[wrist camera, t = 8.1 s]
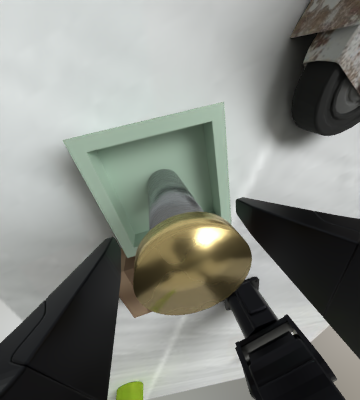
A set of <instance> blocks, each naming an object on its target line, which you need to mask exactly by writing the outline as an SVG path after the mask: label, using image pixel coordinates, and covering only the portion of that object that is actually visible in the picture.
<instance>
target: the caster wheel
mask: <svg viewBox="0 0 360 400" xmlns="http://www.w3.org/2000/svg"><path fill="white" fill-rule="evenodd" d="M313 33H318V34H317V35H316V37H315V38H314V40H313V42H312V44H311V45H310V47H309V49H308V52H307V54H306V57H305V60H304V62H303V65H304V67H305V69H304V71H303V73H302V75H301V77H300V79H299V82H298V85H297V87H296V90H295V94H294V98H293V106H292V114H293V119H294V121H295V123H296V125H297V126H299V127H300V128H302V129H305V130H308V131H311V132H314V133H317V134H320V135H324V136H331V135H336V134H339V133H341V132H343V131H345V130H347V129H349V128H351V127H353V126H354V125H356V124H357V123H359V122H360V0H311V2H310V3H309V5H308V7H307V8H306V10H305V12H304V13H303V15H302V17H301V18H300V20H299V22H298V23H297V25H296V27H295V29H294V30H293V32H292V35H291V38H294V37H299V36H304V35H308V34H313Z"/></svg>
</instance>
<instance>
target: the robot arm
mask: <svg viewBox="0 0 360 400" xmlns="http://www.w3.org/2000/svg"><path fill="white" fill-rule="evenodd" d="M236 213H237V215H238V216H239V218H240V219H241V221H242V222H243V224H244V225H245V226H246V228H247V229H248V231H249V232H250V234H251V235H252V236H253V237H254V238H255V240H256V241H257V242H258V243H259V244H260V245H261V246H262V248H263V249H264V250H265V251H266V252H267V253H268V254H269V256H270V257H271V258H272V259H273V260H274V261H275V262H276V264H277V265H278V266H279V267H280V268H281V269H282V270H283V272H284V273H285V274H286V275H287V276H288V277H289V278H290V280H291V281H292V282H293V283H294V284H295V285H296V286H297V288H298V289H299V290H300V291H301V292H302V293H303V295H304V296H305V297H306V298H307V299H308V300H309V301H310V303H311V304H312V305H313V306H314V307H315V308H316V309H317V311H318V312H319V313H320V314H321V315H322V316H323V318H324V319H325V320H326V321H327V322H328V323H329V324H330V326H331V327H332V328H333V329H334V330H335V331H336V333H337V334H338V335H339V336H340V337H341V338H342V339H343V341H344V342H345V343H346V344H347V345H348V346H349V347H350V349H351V350H352V351H353V352H354V353H355V354H356V355H357V356H358V358H359V359H360V219H357V218H350V217H344V216H338V215H333V214H327V213H322V212H317V211H311V210H306V209H301V208H296V207H291V206H285V205H280V204H275V203H270V202H265V201H260V200H254V199H249V198H244V197H242V198H239V199H237V200H236ZM120 283H121V249H120V247H119V245H118V243H117V241H116V239H115V238H114V237H111V238H108V239H105V240H104V241H103V242H102V243H101V244H100V245H99V246H98V247H97V248H96V249H95V250H94V251H93V252H92V253H91V254H90V255H89V256H88V257H87V258H86V259H85V260H84V261H83V262H82V263H81V264H80V265H79V266H78V267H77V268H76V269H75V270H74V271H73V272H72V273H71V274H70V275H69V276H68V277H67V278H66V279H65V280H64V281H63V282H62V283H61V284H60V285H59V286H58V287H57V288H56V289H55V290H54V291H53V292H52V293H51V294H50V295H49V296H48V297H47V298H46V301H43V302H42V303H41V304H40V305H39V306H38V307H37V308H36V309H35V310H34V311H33V312H32V313H31V314H30V315H29V316H28V317H27V318H26V319H25V320H24V321H23V322H22V323H21V324H20V325H19V326H18V327H17V328H16V329H15V330H14V331H13V332H12V333H11V334H10V335H8V336H7V337H6V338H5V339H4V340H3V341H2V342H1V343H0V400H107V396H108V388H109V379H110V370H111V361H112V353H113V344H114V335H115V326H116V318H117V309H118V300H119V292H120ZM258 289H259V279H258V278H257V277H254V278H252V279H249V280H246V281H243V283H242V284H241V285H240V286H239V287H238V289H237V290H236V291H234V292H233V293H232V294H231V295H230V296H229V297H227V298H226V299H224V300H225V307H226V310H230V309H231V310H232V312H233V314H234V316H235V318H236V320H237V322H238V324H239V326H240V328H241V330H242V333H243V335H244V337H245V339H243V340H242V341H240V342H239V341H238V342H236V346H237V347H236V348H235V349H236V351H237V354H238V356H239V359H240V361H241V364H242V367H243V371H244V374H245V378H246V381H247V385H248V388H249V391H250V394H251V396H252V397H253V398H254V399H255V400H345V398H344V397H343V396H342V394H341V393H340V392H339V390H338V389H337V388H336V386H335V385H334V383H333V382H334V381H336V380H337V378H336V376H335V375H334V374H333V372H332V370H331V369H330V368H329V366H328V365H327V363H326V362H325V361H324V359H323V358H322V357H321V355H320V354H319V353H318V351H317V350H316V349H315V348H314V346H313V345H312V344H311V343H310V342H309V340H308V339H307V338H306V337H305V335H304V334H303V333H302V332H301V331H300V329H299V328H298V327H297V326H296V324H295V323H294V322H293V321H292V319H291V318H290V317H289V316H288V315H285V316H284V317H283V318H281V319H279V320H278V318H277V317H276V315H275V314H274V312H273V311H272V310H271V308H270V307H269V305H268V304H267V302H266V301H265V300H264V298H263V297H262V295H261V294H260V292H259V291H258ZM291 332H293V333H294V335H292V334H291Z"/></svg>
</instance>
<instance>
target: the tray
mask: <svg viewBox="0 0 360 400" xmlns="http://www.w3.org/2000/svg"><path fill="white" fill-rule="evenodd" d="M63 142H64V144H65V146H66V148H67V149H68V151H69V153H70V155H71V157H72V158H73V160H74V162H75V164H76V166H77V168H78V169H79V171H80V173H81V175H82V177H83V178H84V180H85V182H86V184H87V186H88V187H89V189H90V191H91V193H92V195H93V197H94V198H95V200H96V202H97V204H98V206H99V207H100V209H101V211H102V213H103V215H104V216H105V218H106V220H107V222H108V224H109V225H110V227H111V229H112V231H113V233H114V235H115V236H116V238H117V240H118V242H119V244H120V245H121V247H122V249H123V251H124V253H125V254H126V256H127V258H130V257H133V256H135V255H136V251H137V248H138V246H139V244H140V242H141V241H142V239H143V238H144V236H145V235H146V234H147V233H148V232H149V208H148V180H149V178H150V176H151V175H152V174H153V173H154V172H156V171H157V170H160V169H169V170H172V171H174V172H175V173H176V174H177V175H178V176H179V177H180V179H181V180H182V182H183V183H184V184H185V186H186V187H187V189H188V190H189V192H190V193H191V194H192V196H193V197H194V199H195V200H196V201H197V203H198V204H199V206H200V207H201V209H202V210H203V211H204V212H208V213H212V214H216V215H218V216H220V217H222V218H224V219H225V220H226V221H228V222H229V223H230V224H231V211H230V194H229V177H228V160H227V143H226V127H225V110H224V102H221V103H217V104H213V105H209V106H205V107H200V108H196V109H192V110H188V111H184V112H179V113H175V114H171V115H167V116H162V117H158V118H154V119H150V120H146V121H141V122H137V123H133V124H129V125H125V126H120V127H116V128H112V129H108V130H104V131H99V132H95V133H91V134H87V135H83V136H78V137H74V138H70V139H66V140H63Z"/></svg>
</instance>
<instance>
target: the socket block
mask: <svg viewBox="0 0 360 400" xmlns="http://www.w3.org/2000/svg"><path fill="white" fill-rule="evenodd" d="M120 249H121V283H120V292H119V297H120V299H121V300H122V301H123V303H124V304H125V306H126V307H127V308H128V310H129V311H130V312H131V314H132V315H133V317H134V318H136V317H138V316H141V315H144V314H147V313H150V312H152V311H151V310H149V309H147V308H146V307H144V306H143V305H142V304H141V303H140V302H139V301H138V299H137V298H136V296H135V294H134V289H133V277H134V264H135V256H133V257H130V258H127V256H126V254H125V253H124V251H123V249H122V248H120Z"/></svg>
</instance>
